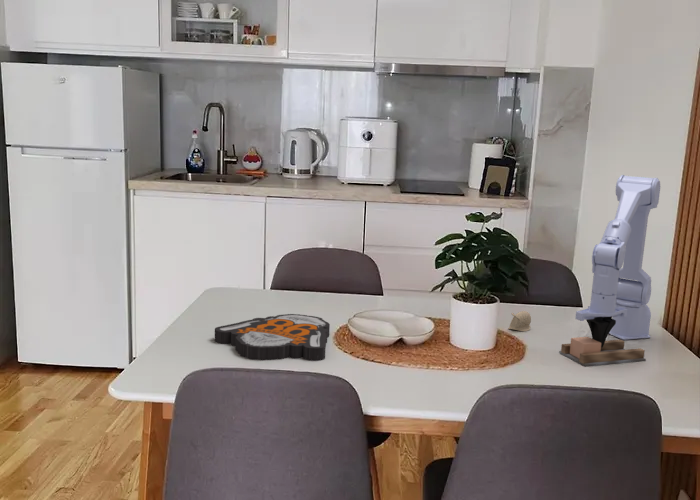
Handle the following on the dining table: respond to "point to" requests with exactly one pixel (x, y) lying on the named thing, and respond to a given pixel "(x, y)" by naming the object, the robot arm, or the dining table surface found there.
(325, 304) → the dining table surface
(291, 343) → the decorative emblem
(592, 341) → the block
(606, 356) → the walnut chute
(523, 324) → the decorative ornament
